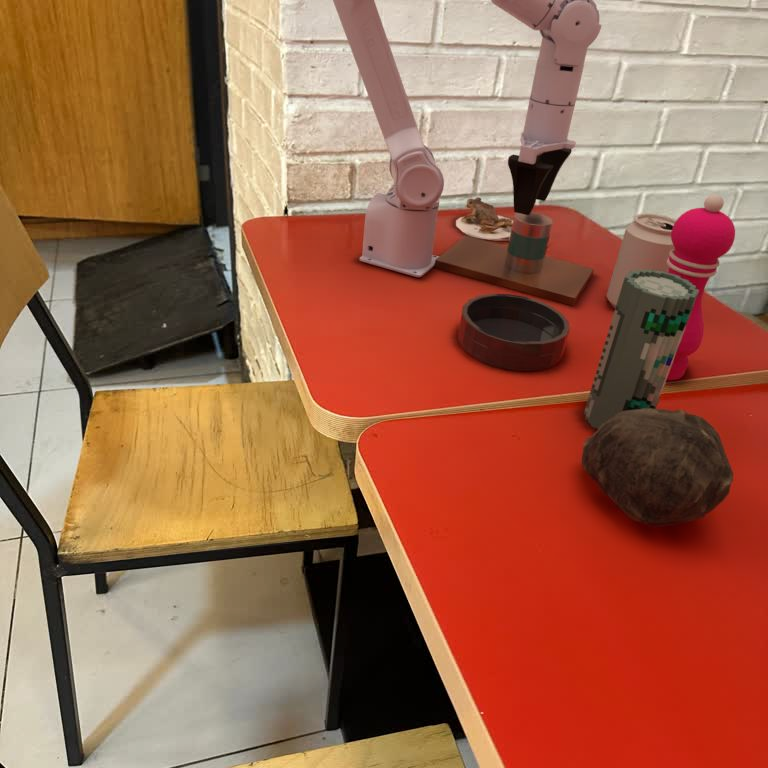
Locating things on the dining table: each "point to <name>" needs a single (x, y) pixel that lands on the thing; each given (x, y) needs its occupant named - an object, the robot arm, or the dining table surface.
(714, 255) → the pepper mill
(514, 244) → the tin can
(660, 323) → the can
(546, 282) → the board
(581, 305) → the dining table surface
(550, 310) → the pan
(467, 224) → the frog figurine
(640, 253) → the can
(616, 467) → the rock
